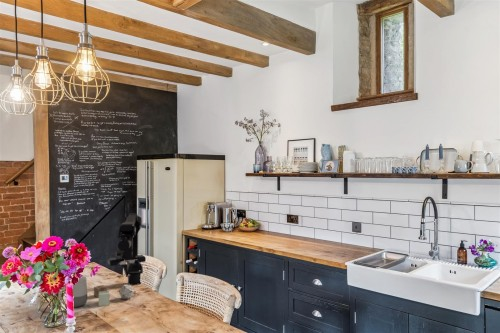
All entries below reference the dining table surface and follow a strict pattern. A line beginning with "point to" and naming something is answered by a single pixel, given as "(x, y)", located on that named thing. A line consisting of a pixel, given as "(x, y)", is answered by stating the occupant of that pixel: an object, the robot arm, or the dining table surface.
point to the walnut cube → (98, 289)
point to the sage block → (103, 298)
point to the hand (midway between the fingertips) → (126, 276)
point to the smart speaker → (80, 292)
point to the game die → (126, 291)
